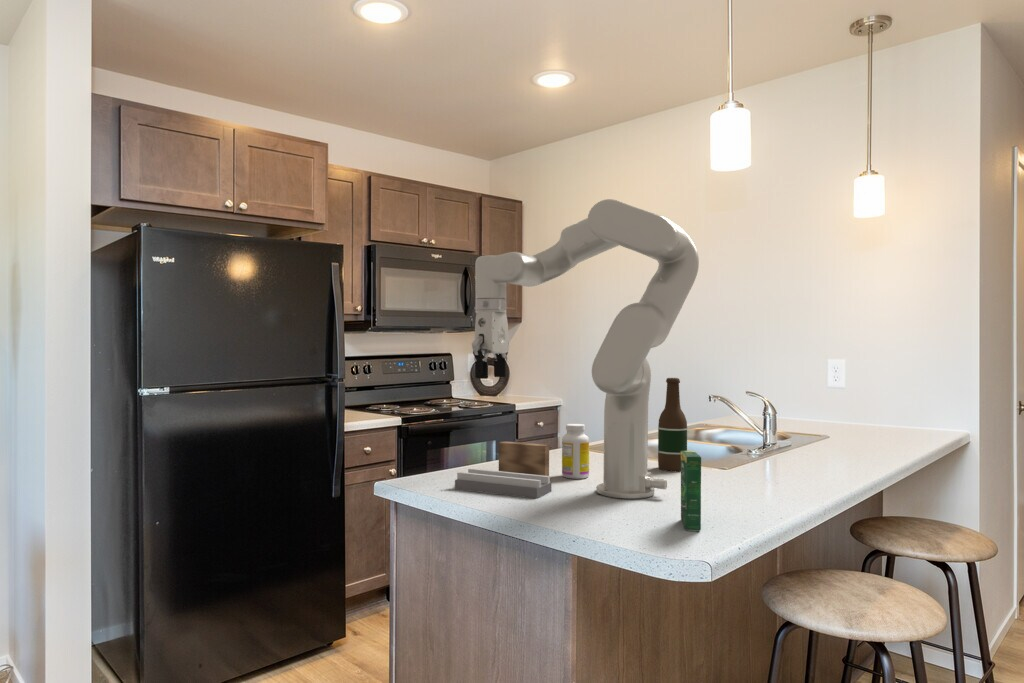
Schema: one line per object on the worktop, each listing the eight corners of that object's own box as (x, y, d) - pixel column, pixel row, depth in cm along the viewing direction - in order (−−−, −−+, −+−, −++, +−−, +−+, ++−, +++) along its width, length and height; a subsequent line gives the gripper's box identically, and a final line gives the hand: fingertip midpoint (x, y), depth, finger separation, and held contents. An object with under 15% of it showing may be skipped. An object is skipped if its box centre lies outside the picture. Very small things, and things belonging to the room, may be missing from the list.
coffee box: (679, 519, 126) (680, 449, 126) (695, 519, 125) (695, 449, 126) (684, 530, 118) (685, 456, 118) (701, 531, 117) (701, 456, 118)
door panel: (548, 483, 158) (549, 444, 158) (544, 485, 156) (545, 446, 156) (503, 478, 163) (503, 441, 163) (498, 480, 161) (498, 442, 161)
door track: (551, 491, 149) (551, 475, 149) (537, 498, 141) (537, 481, 141) (472, 482, 157) (472, 467, 157) (454, 489, 150) (455, 473, 150)
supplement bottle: (588, 474, 168) (589, 423, 168) (589, 480, 162) (589, 426, 162) (562, 473, 169) (562, 422, 169) (561, 479, 162) (561, 425, 162)
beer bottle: (652, 466, 180) (652, 377, 180) (678, 466, 182) (679, 377, 182) (665, 472, 172) (666, 378, 172) (693, 471, 174) (693, 378, 174)
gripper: (488, 304, 154) (488, 379, 153) (519, 308, 169) (520, 376, 169) (459, 305, 157) (459, 378, 157) (493, 309, 172) (493, 376, 172)
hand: (491, 377), depth 163 cm, fingers open, 9 cm apart
